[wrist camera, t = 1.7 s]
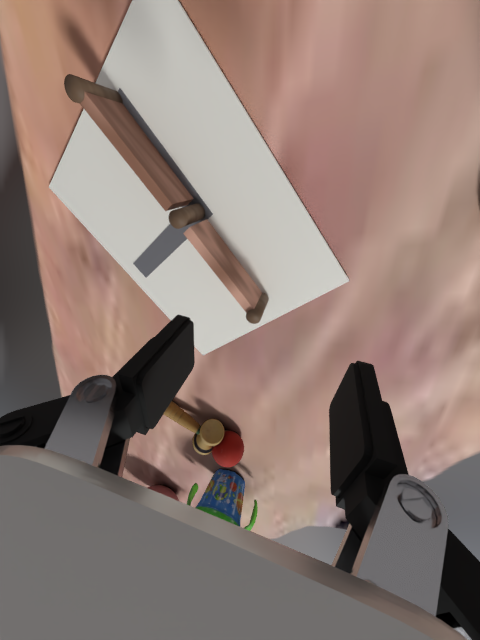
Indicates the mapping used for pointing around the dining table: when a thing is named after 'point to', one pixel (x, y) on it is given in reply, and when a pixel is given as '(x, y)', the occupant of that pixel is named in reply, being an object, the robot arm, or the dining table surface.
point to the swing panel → (228, 269)
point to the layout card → (192, 183)
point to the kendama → (210, 437)
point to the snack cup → (224, 498)
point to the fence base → (135, 148)
